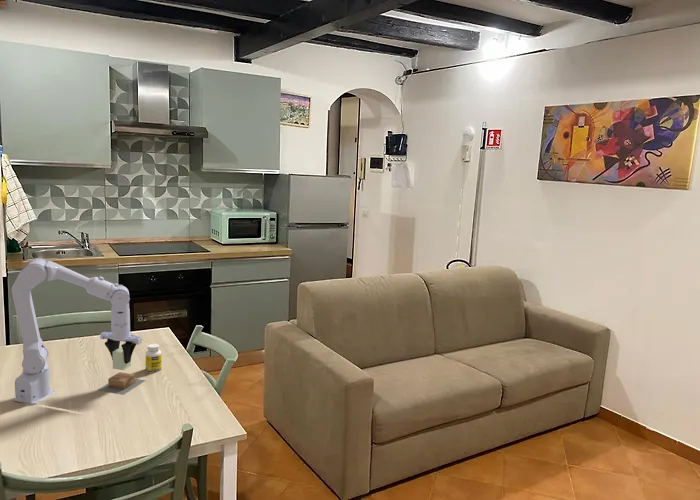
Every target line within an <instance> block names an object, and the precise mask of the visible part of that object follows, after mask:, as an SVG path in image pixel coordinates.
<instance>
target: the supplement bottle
mask: <svg viewBox="0 0 700 500" xmlns="http://www.w3.org/2000/svg"><path fill="white" fill-rule="evenodd" d="M145 371H146V373H150V374H151V373H152V374H153V373H158V372H160V371H162V351H161V349H160V344H158V343H151V344H148V345H147V351H146V352H145Z"/></svg>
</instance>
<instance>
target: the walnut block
mask: <svg viewBox="0 0 700 500" xmlns="http://www.w3.org/2000/svg"><path fill="white" fill-rule="evenodd" d="M107 379H108V381H107V382H108V383H107V384H108V387H110V388H116V389H121V390H125V389H127V388H128V387H130V386H131V385H133V384H135V379H136V374H133V373H128V372H121V371H120V372H118V373H116V374H114V375H112V376H111V377H109V378H107Z"/></svg>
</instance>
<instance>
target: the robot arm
mask: <svg viewBox="0 0 700 500" xmlns="http://www.w3.org/2000/svg"><path fill="white" fill-rule="evenodd" d="M46 278H47V282H51V281H55V280H61V281H65V282H68V283H70V284H74V285H76V286H78V287H81V288H85V291H86V293H87V294H89V295H92V296H95V297H96V298H100V299H102V300H105V301H109V302H110V303H111V308H110V322H111V323H110V326H111V327H110V330H111V331H103V332H100V333H99V335H100V337H99V338H100V340H106V341H105V342H104V346H105V347H106V348H107V350H108V352H109V354H110V357H111V359H112V361H113V352H112V351H114V350H116V349H118V348H122V349H123V353H124V362H125V364H127V363H129V362H130V361H131V362H132V356H133V353H134V350H135V348H136V346H137V345H141V344H142V343H143V337H142V336H138V335H135V334H132V333H131V315H130V314H131V312H130V311H131V310H130V300H131V298H130V292H129V289H128V288H127V287H126V286H124V285H123V284H119V283H116V282H115V283H114V282H111V281H108V280H105V278H104V276H100V275H99V277H98V276H94V277H93V276H92V277H87V276H85V275H83V274H81V273H79V272H76V271H74V270H72V269H70V268H67V267H65V266H63V265H61V264H58V263H56V262H54V261H50V260H47V259H45V258H42V257H36V258H33V259H31V260H30V261H28V262H27V263H26V264H25V265H24V266H23V268H22V270H20V271H19V273H18V275H17V278H16V279H15V281H14V283H13V285H12V287H11V294H12V295H11V296H12V300H13V303H14V308H15V313H16V316H17V322H18V326H19V331H20V336H21V340H22V354H23V359H22V362H21V366H22V372H21V374H20V375H18V377H16V378H15V380H14V391H15V392H14V393H15V394H14V395H15V396H14V397H15V398H13V401H14V402H18V403H23V404H24V403H25V404H30V405H36V404H37V402H40V401H42V400H44V399H46V398H48V397H49V396H51V395H53V394H55V393H56V392H58V391H57V390H55V389H51V383H50V382H51V381H50V379H51V378H50V365H49V364H48V363H47V362H46V361H47V359H48V358H49V349H48V348H47V347H46V346H45V345H44V342H43V340H42V339H43V338H41V334H40V331H39V330H40V329H39V326H38V320H37V316H36V311H35V306H34V305H35V304H34V301H33V297H32V290H33V289H34V288H35V287H36V286H37V285H40V284H41V283H43V282H44V281H45V280H46ZM121 342H123V344H121ZM120 344H121V345H120Z"/></svg>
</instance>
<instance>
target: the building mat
mask: <svg viewBox="0 0 700 500" xmlns="http://www.w3.org/2000/svg"><path fill="white" fill-rule="evenodd" d="M144 382H146V380H145V379H141V378H135V384H133V385H131V386H130V387H128V388H127V389H125V390H121V389H116V388H110V387H108V383H107V384H105V385H103V386H102V387H99V388H98V389H97V391H100V392H105V393H111V394H118V395H123V396H124V395H126V394H127V393H129V392H130V391H132V390H133V389H135V388H136V387H138V386H140V385H141V384H143V383H144Z"/></svg>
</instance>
